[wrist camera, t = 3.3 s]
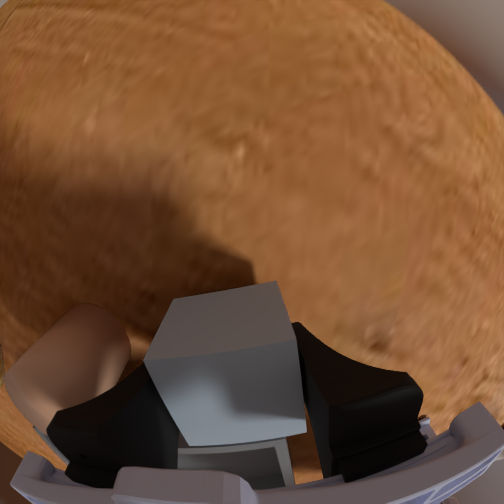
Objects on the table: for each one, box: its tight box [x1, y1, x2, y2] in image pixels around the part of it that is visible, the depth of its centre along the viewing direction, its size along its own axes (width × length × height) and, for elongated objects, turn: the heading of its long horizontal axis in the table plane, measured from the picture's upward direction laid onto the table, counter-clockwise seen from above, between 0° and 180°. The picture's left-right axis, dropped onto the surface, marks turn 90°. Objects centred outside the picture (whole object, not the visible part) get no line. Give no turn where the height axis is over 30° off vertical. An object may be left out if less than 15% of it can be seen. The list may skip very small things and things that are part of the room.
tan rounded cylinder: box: [4, 304, 131, 436], centre depth 11 cm, size 5×5×7 cm
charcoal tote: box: [33, 426, 296, 490], centre depth 15 cm, size 17×13×5 cm
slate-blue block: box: [143, 281, 307, 446], centre depth 11 cm, size 5×5×5 cm
